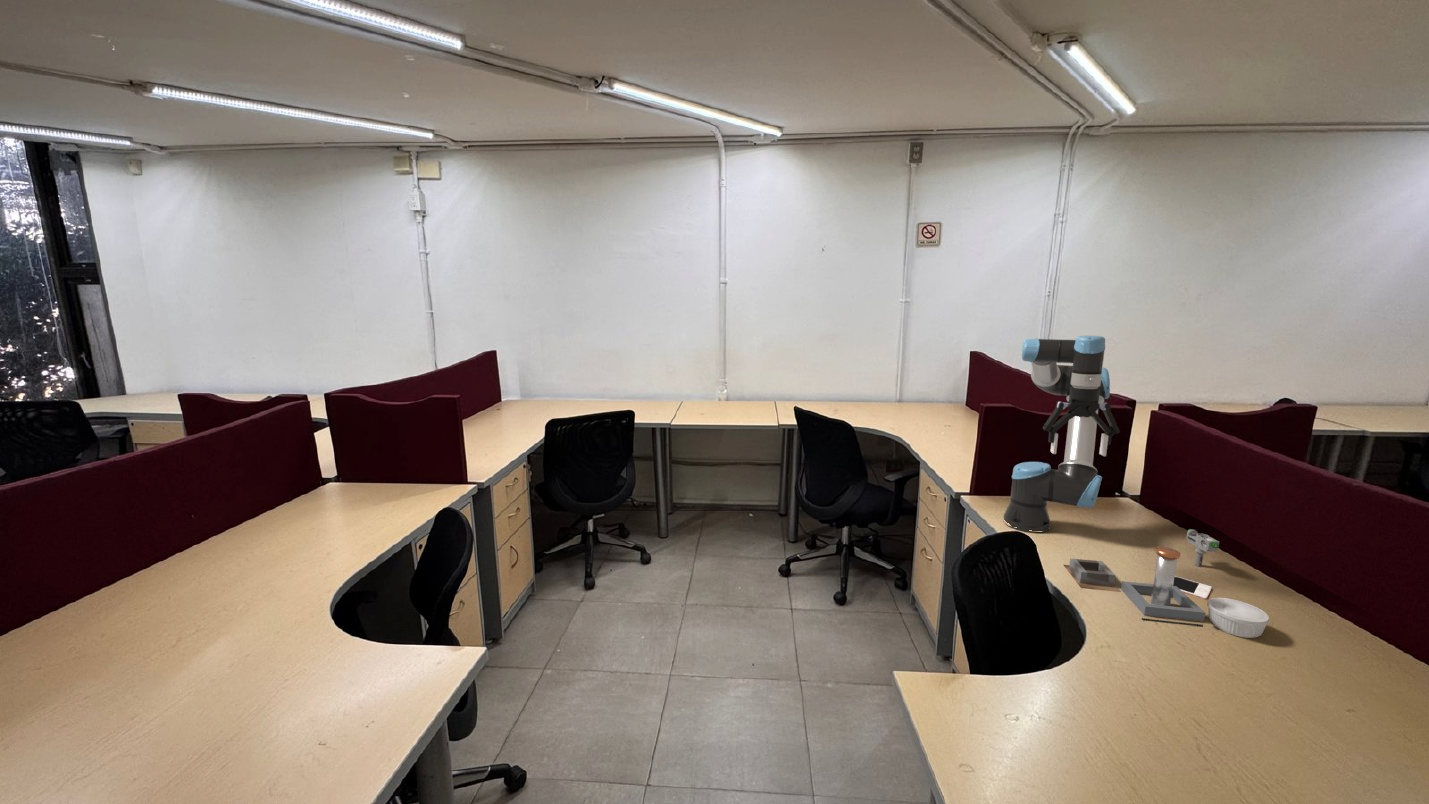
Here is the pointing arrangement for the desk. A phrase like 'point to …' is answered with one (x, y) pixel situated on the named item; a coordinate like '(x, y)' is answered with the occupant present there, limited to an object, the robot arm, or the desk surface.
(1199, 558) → the mechanical component
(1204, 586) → the cell phone
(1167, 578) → the glass jar with lid
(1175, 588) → the tray
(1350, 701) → the desk surface
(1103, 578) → the block
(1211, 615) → the ramekin
